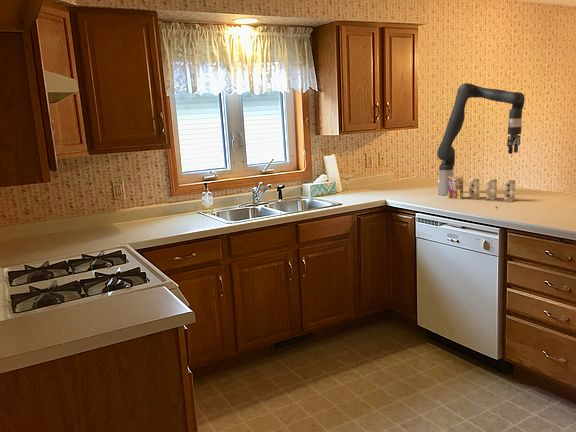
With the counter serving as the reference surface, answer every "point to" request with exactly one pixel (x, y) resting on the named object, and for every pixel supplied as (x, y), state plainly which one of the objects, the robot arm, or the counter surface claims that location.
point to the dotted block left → (474, 188)
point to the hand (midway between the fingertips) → (513, 153)
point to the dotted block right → (509, 190)
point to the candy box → (455, 187)
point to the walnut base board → (491, 200)
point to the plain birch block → (491, 189)
